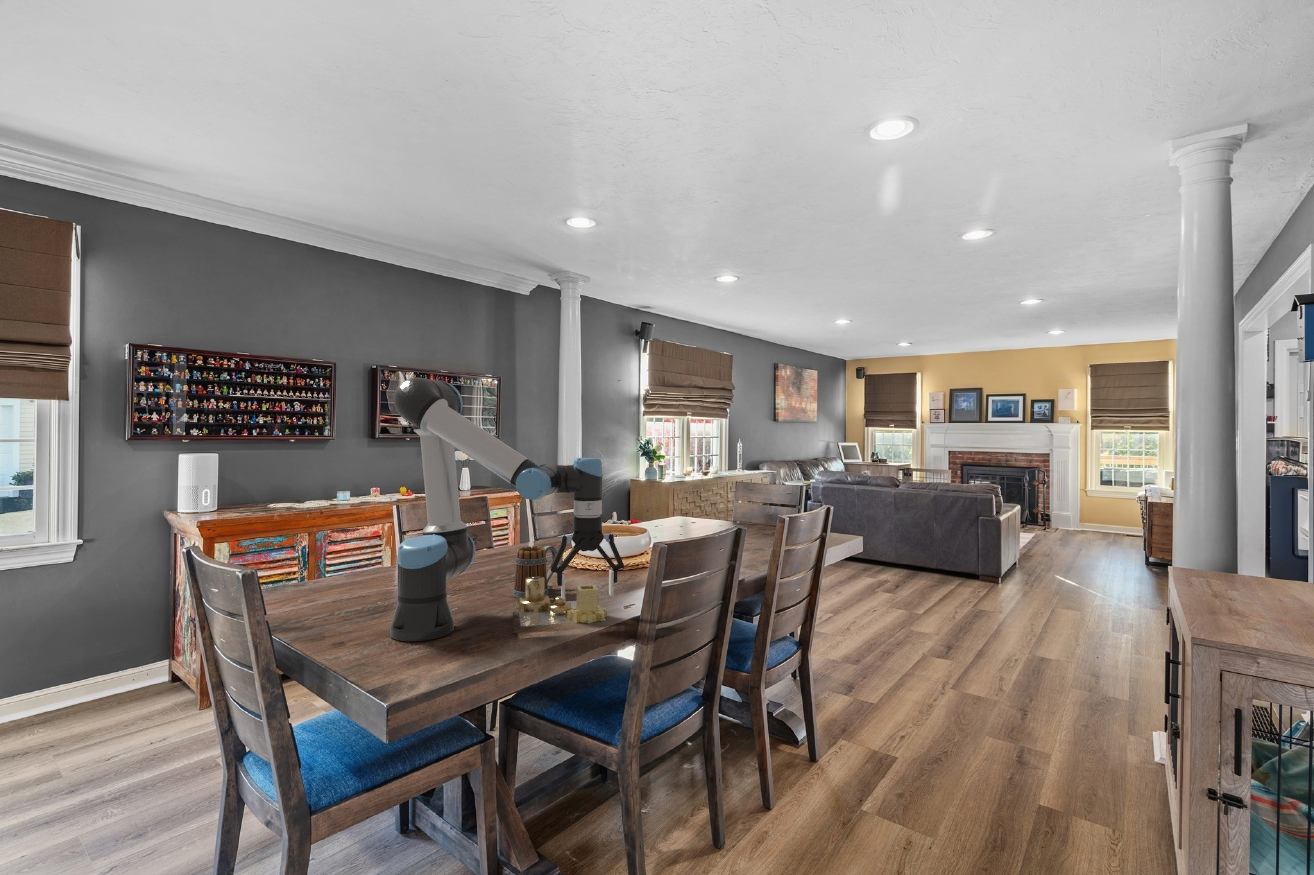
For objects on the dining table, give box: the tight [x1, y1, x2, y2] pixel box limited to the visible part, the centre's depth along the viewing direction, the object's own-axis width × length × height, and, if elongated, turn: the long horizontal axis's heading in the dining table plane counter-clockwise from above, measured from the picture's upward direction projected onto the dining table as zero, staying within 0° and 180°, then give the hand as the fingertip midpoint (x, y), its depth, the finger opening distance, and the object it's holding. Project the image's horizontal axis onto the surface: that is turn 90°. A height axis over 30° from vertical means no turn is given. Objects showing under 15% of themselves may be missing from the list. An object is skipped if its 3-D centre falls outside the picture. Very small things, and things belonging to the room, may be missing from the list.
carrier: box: [515, 576, 607, 627], centre depth 169 cm, size 23×22×10 cm
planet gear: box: [567, 584, 608, 624], centre depth 164 cm, size 10×10×8 cm
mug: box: [512, 545, 558, 599], centre depth 188 cm, size 16×11×15 cm
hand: (587, 596), depth 164 cm, fingers open, 12 cm apart
